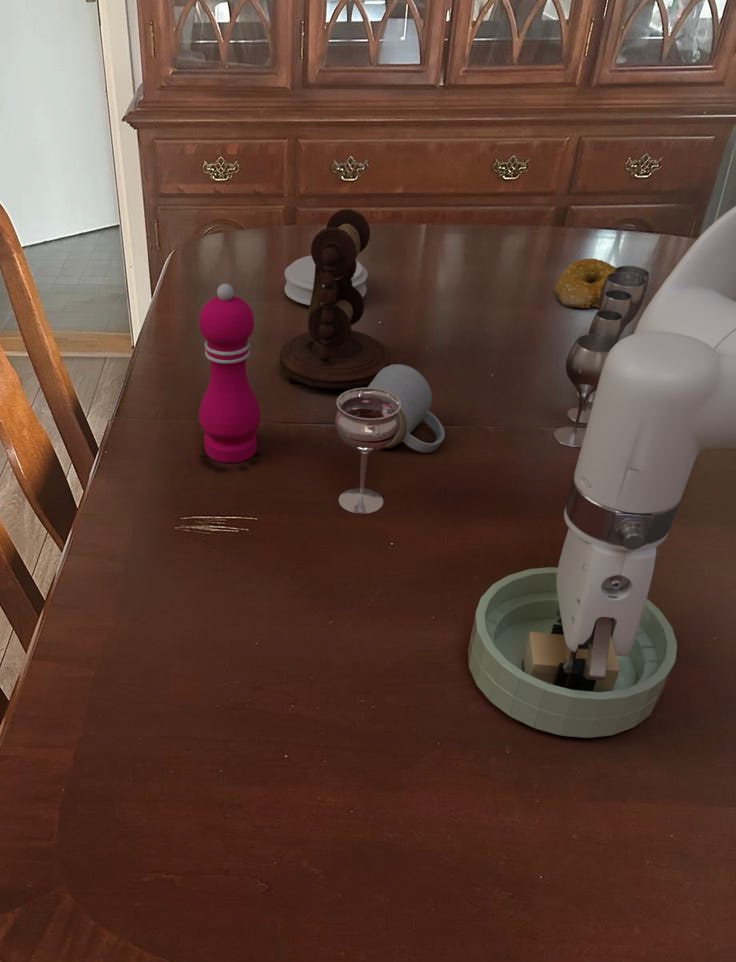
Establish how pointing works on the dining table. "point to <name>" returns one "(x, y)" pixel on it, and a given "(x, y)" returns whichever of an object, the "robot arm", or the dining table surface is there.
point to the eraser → (561, 659)
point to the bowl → (549, 707)
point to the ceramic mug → (410, 405)
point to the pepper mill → (228, 379)
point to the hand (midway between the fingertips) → (566, 678)
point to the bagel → (583, 283)
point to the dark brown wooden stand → (335, 314)
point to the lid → (303, 279)
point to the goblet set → (601, 343)
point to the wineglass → (366, 436)
